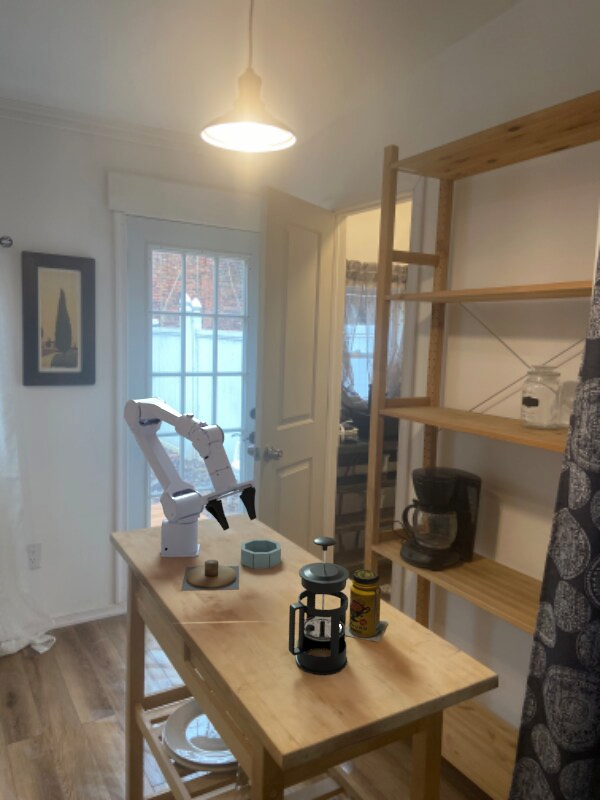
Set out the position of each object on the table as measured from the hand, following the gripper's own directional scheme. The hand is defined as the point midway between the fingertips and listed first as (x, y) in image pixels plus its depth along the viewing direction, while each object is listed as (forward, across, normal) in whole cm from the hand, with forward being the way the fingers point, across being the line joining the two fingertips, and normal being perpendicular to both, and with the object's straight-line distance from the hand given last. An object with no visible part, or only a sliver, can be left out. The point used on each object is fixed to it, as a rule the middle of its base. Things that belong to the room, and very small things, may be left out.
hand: (240, 524), depth 144 cm
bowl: (+10, +6, +10) cm, 15 cm away
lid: (+9, -9, +6) cm, 14 cm away
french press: (+30, -10, -30) cm, 43 cm away
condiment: (+30, +5, -26) cm, 40 cm away
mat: (+9, -9, +6) cm, 14 cm away
